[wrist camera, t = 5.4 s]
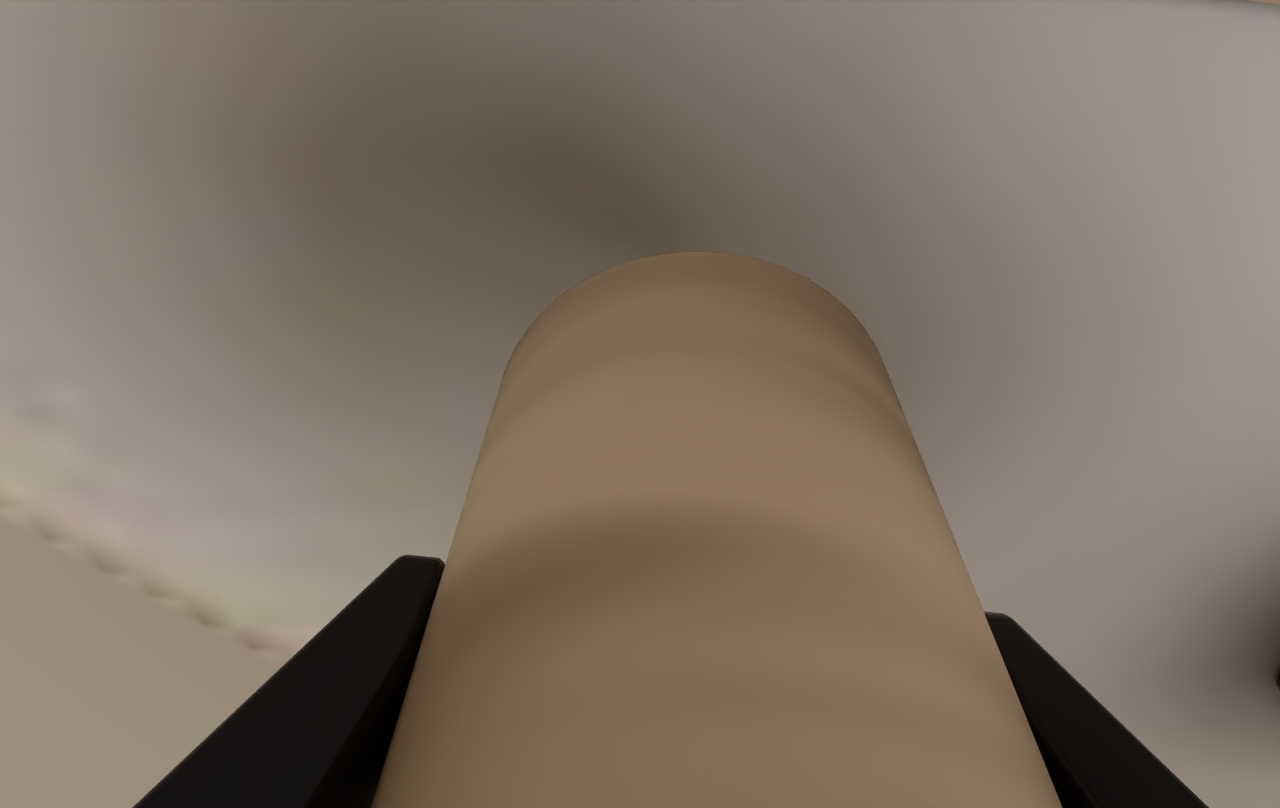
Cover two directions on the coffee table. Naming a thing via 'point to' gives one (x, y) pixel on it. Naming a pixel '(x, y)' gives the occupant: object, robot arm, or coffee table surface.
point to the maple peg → (705, 574)
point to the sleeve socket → (1268, 1)
